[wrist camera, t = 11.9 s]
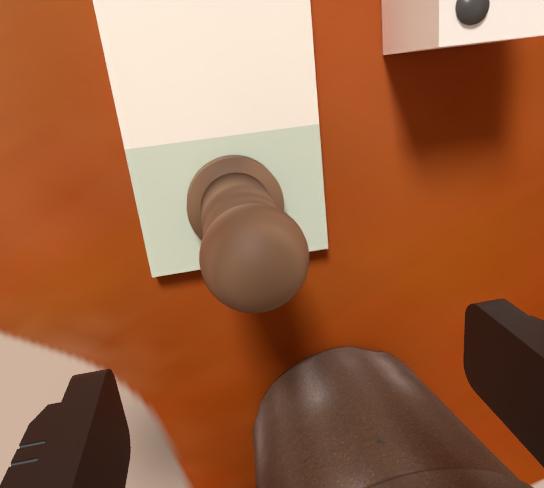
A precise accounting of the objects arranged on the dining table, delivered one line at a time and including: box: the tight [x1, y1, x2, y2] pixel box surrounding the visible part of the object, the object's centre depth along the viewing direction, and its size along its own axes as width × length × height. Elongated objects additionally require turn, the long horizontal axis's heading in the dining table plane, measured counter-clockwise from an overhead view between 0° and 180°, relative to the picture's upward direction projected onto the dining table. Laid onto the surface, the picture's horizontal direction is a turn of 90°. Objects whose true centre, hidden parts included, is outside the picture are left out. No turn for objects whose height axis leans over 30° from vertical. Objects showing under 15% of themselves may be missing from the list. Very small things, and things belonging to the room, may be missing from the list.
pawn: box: [187, 155, 309, 313], centre depth 20 cm, size 5×5×11 cm
